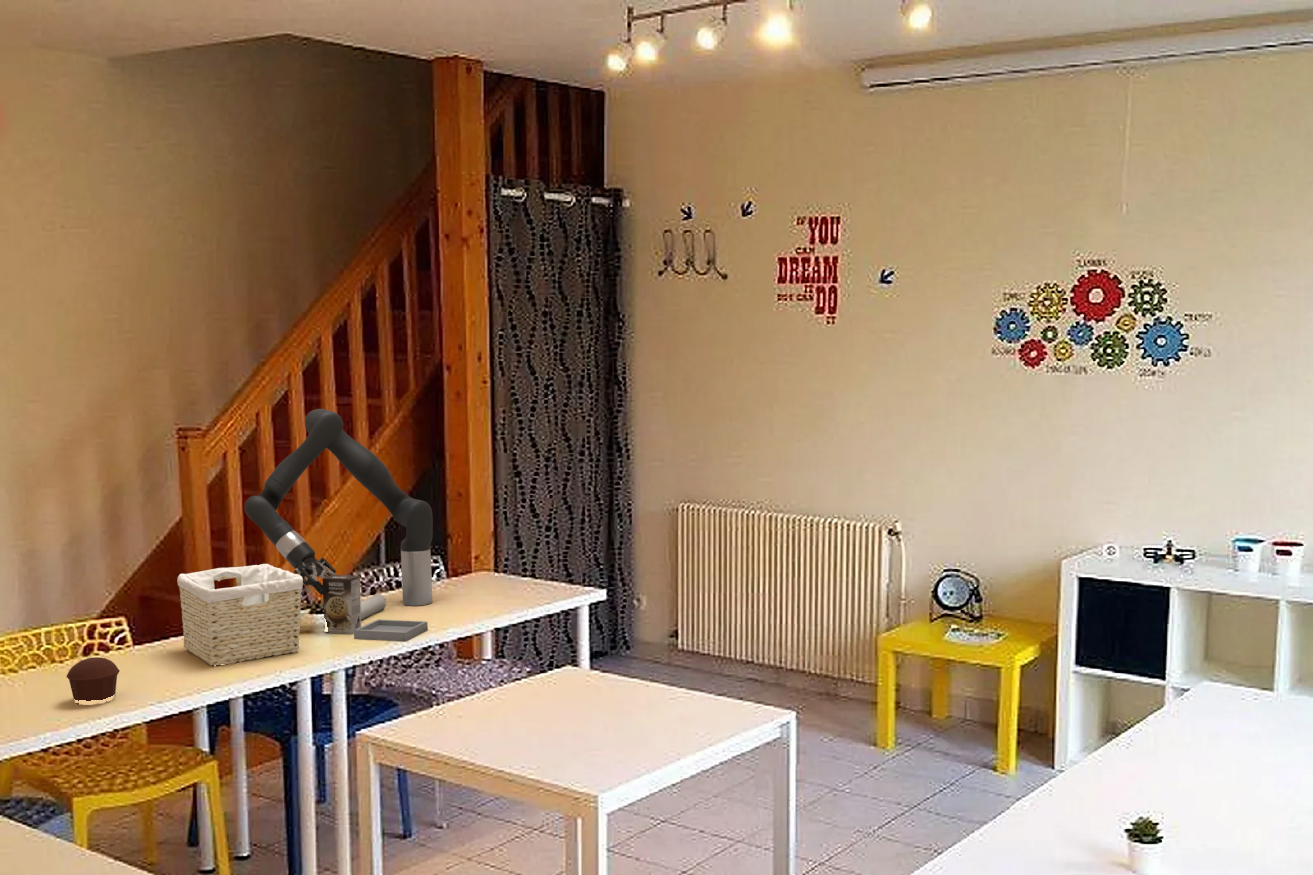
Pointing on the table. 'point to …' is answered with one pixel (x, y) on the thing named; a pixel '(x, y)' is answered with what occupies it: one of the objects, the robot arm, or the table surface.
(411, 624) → the dish
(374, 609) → the tube
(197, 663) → the table surface
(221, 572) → the basket
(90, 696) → the muffin
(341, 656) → the table surface
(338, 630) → the coffee box
